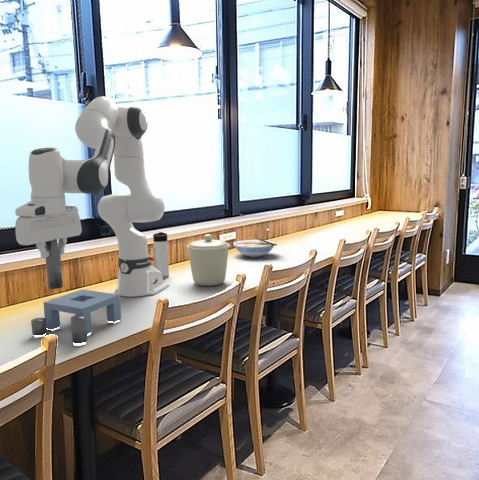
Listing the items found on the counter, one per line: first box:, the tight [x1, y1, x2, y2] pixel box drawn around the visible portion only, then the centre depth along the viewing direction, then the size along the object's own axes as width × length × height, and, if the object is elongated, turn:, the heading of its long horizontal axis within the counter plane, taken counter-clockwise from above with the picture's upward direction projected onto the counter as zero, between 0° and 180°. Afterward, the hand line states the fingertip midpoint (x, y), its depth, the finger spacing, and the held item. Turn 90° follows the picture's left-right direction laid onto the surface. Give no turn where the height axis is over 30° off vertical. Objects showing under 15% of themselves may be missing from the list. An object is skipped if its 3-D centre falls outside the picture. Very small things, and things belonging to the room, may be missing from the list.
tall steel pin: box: [44, 239, 64, 290], centre depth 132 cm, size 4×4×14 cm
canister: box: [186, 233, 231, 287], centre depth 196 cm, size 18×18×21 cm
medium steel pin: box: [70, 314, 88, 343], centre depth 132 cm, size 4×4×8 cm
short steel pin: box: [30, 317, 48, 335], centre depth 139 cm, size 4×4×5 cm
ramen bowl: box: [233, 238, 277, 258], centre depth 253 cm, size 25×23×8 cm
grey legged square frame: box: [43, 289, 122, 334], centre depth 147 cm, size 16×16×9 cm
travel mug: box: [152, 231, 170, 280], centre depth 208 cm, size 6×7×20 cm
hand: (52, 255), depth 132 cm, fingers closed on tall steel pin, 4 cm apart
